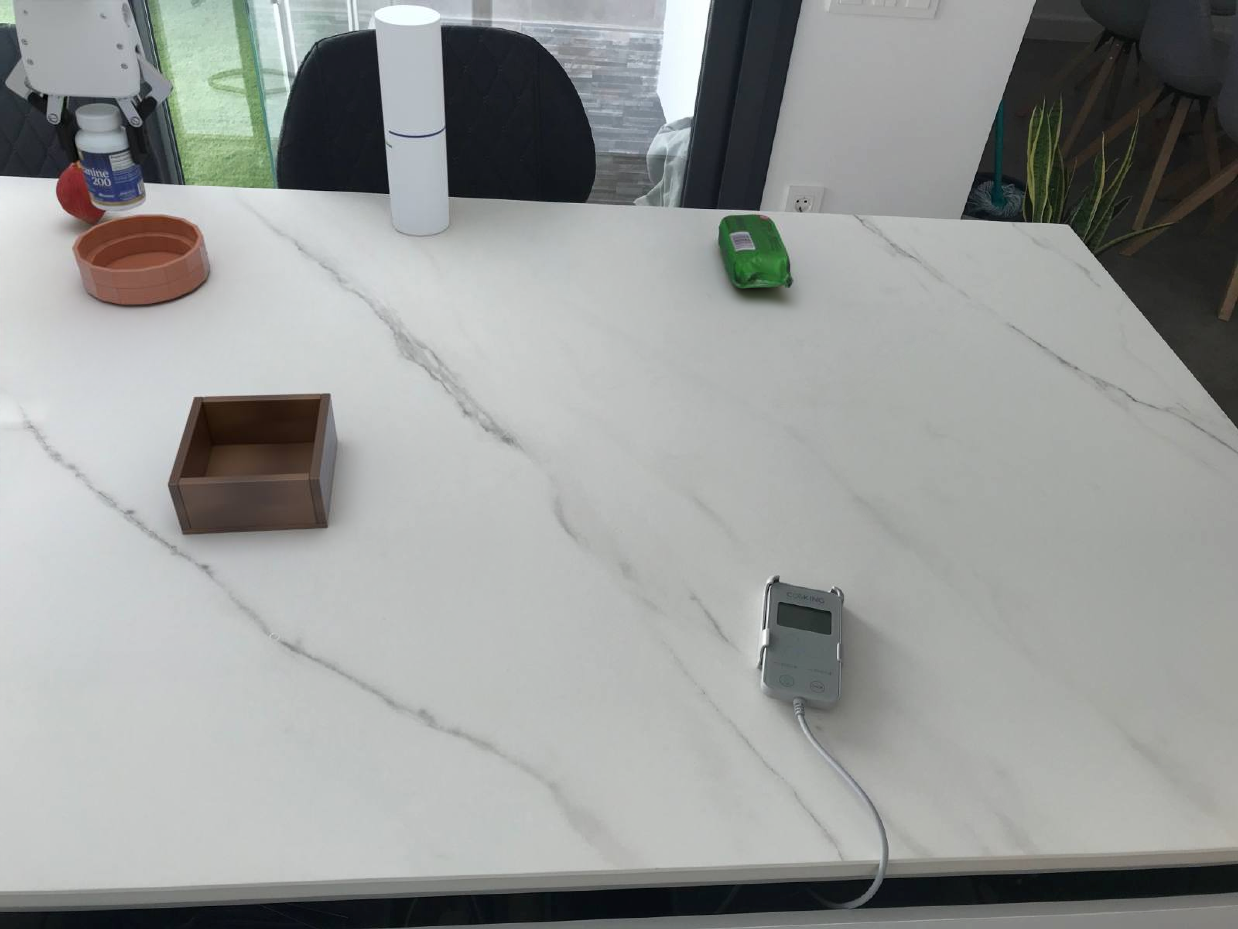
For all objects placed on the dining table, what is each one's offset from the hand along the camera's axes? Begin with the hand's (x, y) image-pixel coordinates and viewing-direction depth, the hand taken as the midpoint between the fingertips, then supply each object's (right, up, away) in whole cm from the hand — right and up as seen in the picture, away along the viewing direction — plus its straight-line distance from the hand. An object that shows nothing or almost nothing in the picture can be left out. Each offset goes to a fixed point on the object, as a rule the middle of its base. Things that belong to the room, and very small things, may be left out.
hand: (108, 156), depth 100 cm
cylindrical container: (+27, -1, +24) cm, 36 cm away
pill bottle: (0, -4, +3) cm, 5 cm away
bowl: (0, -11, +9) cm, 14 cm away
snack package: (+69, -8, +20) cm, 72 cm away
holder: (+21, -33, -15) cm, 42 cm away
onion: (-11, -3, +18) cm, 21 cm away
